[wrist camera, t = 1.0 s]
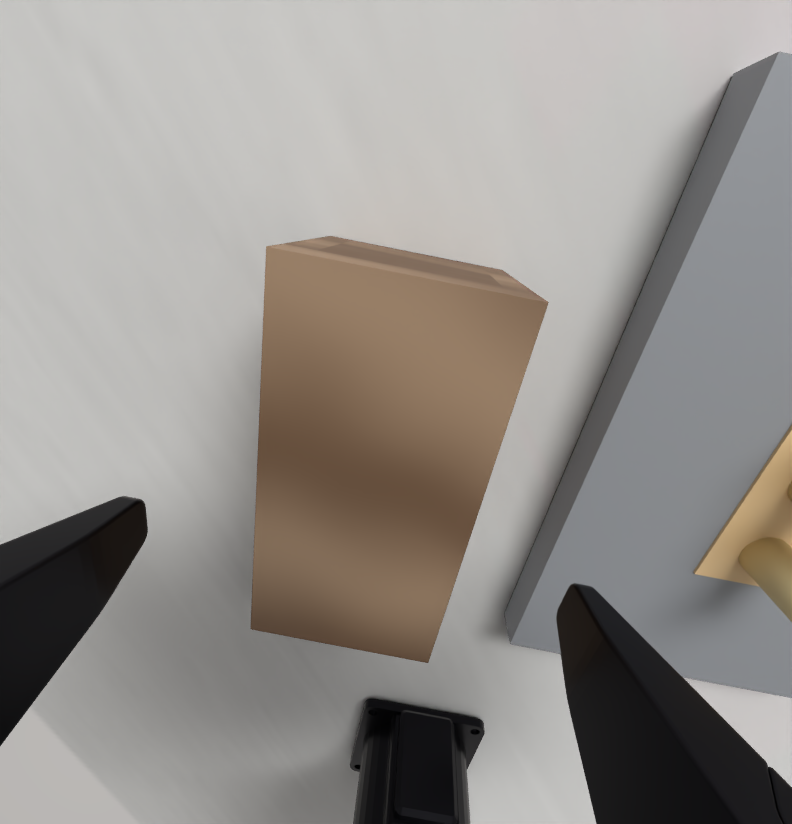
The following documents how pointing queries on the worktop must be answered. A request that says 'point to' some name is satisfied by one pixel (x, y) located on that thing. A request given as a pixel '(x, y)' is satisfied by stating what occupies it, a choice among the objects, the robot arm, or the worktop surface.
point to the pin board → (695, 425)
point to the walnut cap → (377, 435)
